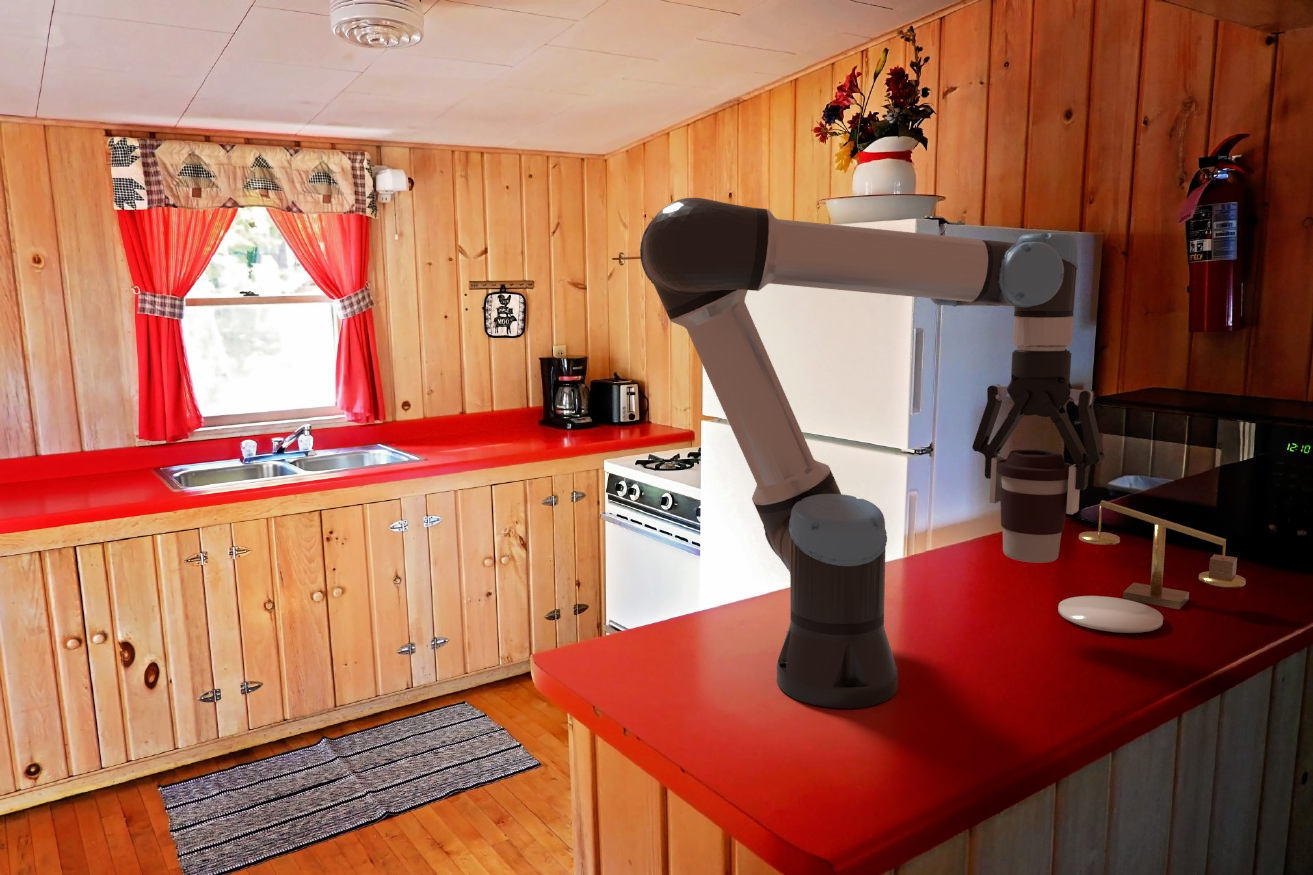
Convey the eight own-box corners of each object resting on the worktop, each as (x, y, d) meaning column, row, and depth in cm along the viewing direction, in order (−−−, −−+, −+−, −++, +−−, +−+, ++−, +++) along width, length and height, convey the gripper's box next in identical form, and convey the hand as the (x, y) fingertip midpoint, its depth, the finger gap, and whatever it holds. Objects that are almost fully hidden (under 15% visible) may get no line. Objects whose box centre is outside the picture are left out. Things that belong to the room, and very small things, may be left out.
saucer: (1148, 644, 126) (1148, 635, 126) (1044, 622, 135) (1045, 614, 135) (1173, 616, 137) (1173, 608, 136) (1075, 598, 146) (1075, 590, 146)
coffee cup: (994, 563, 126) (999, 456, 124) (992, 544, 135) (997, 445, 133) (1072, 569, 123) (1078, 460, 121) (1064, 550, 132) (1070, 448, 130)
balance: (1238, 620, 134) (1246, 522, 132) (1071, 589, 150) (1075, 501, 148) (1246, 609, 139) (1253, 514, 136) (1083, 580, 154) (1087, 495, 152)
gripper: (1139, 349, 120) (1127, 513, 124) (972, 345, 135) (966, 491, 138) (1122, 352, 115) (1111, 524, 118) (951, 347, 129) (945, 500, 133)
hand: (1033, 506), depth 128 cm, fingers closed on coffee cup, 10 cm apart
